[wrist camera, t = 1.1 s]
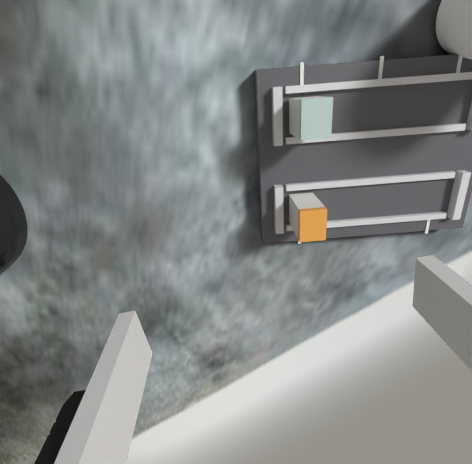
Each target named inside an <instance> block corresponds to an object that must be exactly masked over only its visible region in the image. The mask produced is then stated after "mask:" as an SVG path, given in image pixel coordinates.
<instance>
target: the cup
mask: <svg viewBox="0 0 472 464" xmlns="http://www.w3.org/2000/svg"><path fill="white" fill-rule="evenodd" d="M436 35H437V39H438V41H439V43H440V45H441V47H442V48H443V49H444V50H445V51H447V52H448V53H450V54H458V55H460V56H462V57H464V58H468V59H472V0H442V1H441V3H440V6H439V9H438V13H437V17H436Z"/></svg>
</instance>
